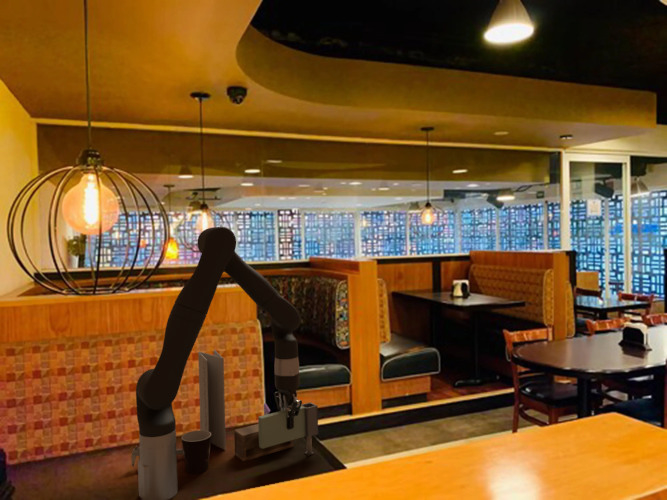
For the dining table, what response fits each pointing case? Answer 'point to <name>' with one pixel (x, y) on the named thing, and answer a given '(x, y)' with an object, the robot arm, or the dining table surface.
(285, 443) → the cabinet
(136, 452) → the caliper
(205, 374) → the brochure
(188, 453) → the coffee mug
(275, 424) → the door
